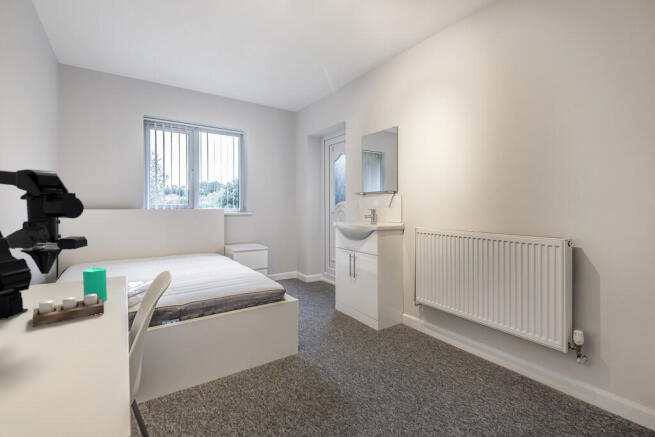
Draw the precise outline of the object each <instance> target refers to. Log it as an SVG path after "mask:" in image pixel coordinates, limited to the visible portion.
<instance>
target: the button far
mask: <svg viewBox="0 0 655 437" xmlns="http://www.w3.org/2000/svg"><path fill="white" fill-rule="evenodd" d="M83 300H84V306H89V305H94V304H97V294H88V295H85V296H84V295H83Z"/></svg>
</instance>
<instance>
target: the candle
mask: <svg viewBox="0 0 655 437" xmlns="http://www.w3.org/2000/svg"><path fill="white" fill-rule="evenodd" d="M82 278H83V279H82V281H83V282H82V284H83V297H84V296H85V295H88V294H97V298H101V300H102V302H103V303H104V302H106V301H107V300H108V292H107V291H108V289H107V284H108V283H107V268H106V267H99V266H98V267H96V265H95V264H94V267H90V268H87V269H84V270H82Z"/></svg>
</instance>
